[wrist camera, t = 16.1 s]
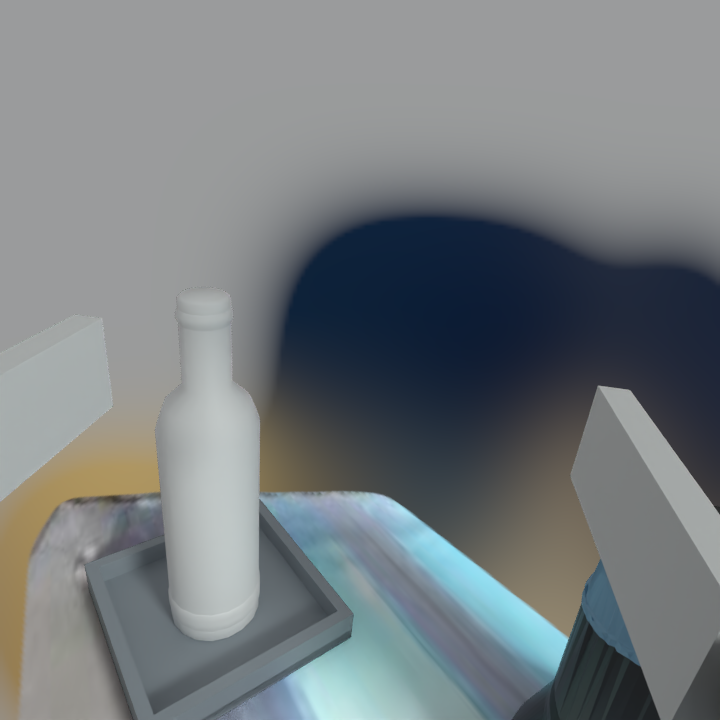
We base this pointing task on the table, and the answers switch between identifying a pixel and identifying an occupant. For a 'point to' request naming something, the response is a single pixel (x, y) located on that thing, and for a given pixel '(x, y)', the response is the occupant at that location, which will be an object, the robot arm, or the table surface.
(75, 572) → the table surface
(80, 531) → the table surface
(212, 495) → the bottle
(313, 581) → the tray
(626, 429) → the robot arm
